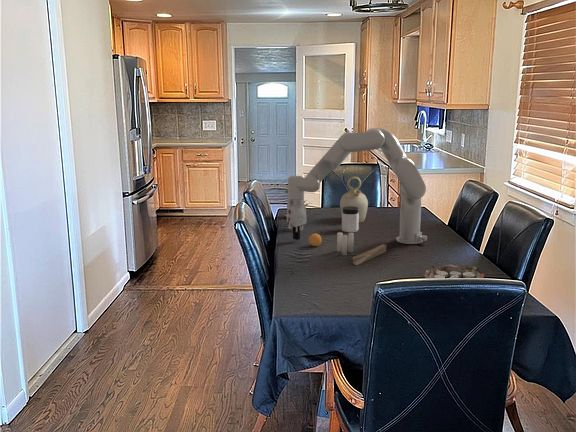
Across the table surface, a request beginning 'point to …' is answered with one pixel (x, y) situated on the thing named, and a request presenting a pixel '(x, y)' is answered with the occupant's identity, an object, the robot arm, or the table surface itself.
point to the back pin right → (350, 242)
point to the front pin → (339, 242)
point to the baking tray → (454, 272)
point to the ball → (315, 239)
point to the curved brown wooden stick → (369, 254)
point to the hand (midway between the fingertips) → (296, 239)
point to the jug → (355, 199)
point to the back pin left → (344, 244)
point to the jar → (350, 219)
